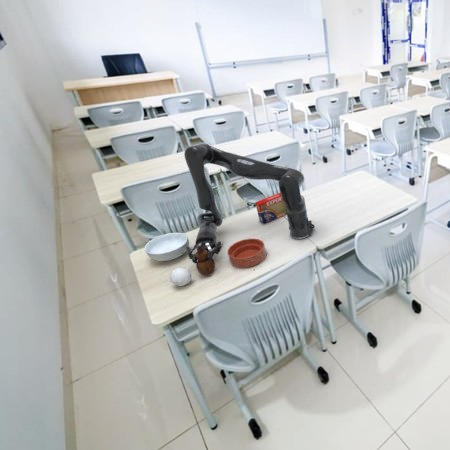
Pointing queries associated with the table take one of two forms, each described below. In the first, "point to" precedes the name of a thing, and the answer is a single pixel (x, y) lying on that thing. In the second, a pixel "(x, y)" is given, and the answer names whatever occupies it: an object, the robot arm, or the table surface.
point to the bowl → (246, 252)
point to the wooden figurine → (204, 262)
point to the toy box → (270, 208)
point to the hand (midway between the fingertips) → (202, 260)
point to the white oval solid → (180, 276)
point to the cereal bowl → (167, 246)
